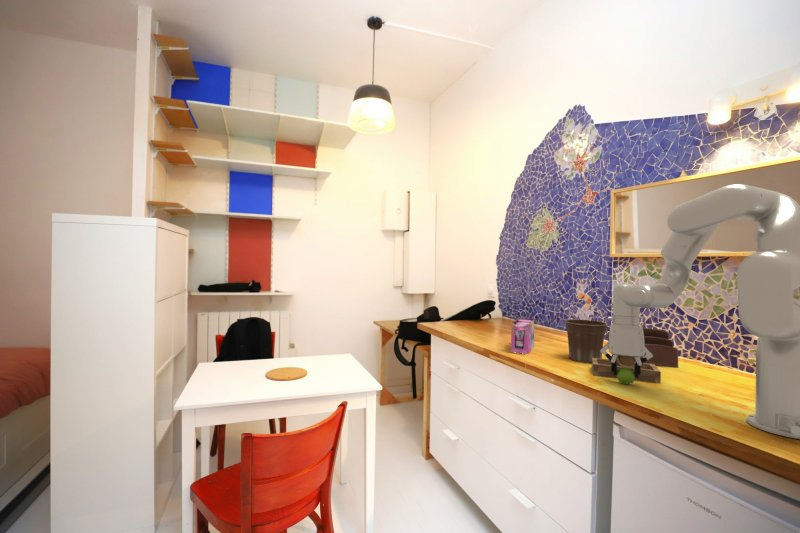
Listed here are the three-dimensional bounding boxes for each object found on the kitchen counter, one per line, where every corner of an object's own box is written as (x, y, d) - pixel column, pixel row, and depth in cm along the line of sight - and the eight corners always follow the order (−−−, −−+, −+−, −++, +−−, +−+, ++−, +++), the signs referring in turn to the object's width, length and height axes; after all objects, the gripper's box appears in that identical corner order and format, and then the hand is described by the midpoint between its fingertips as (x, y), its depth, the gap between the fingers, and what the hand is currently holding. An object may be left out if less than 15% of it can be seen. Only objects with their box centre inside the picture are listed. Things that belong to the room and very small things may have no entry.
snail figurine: (614, 379, 128) (615, 345, 128) (636, 383, 123) (636, 347, 124) (611, 383, 123) (611, 347, 123) (633, 387, 119) (634, 350, 119)
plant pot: (603, 367, 145) (604, 326, 145) (559, 360, 154) (560, 321, 155) (609, 359, 158) (610, 321, 158) (569, 354, 167) (569, 318, 168)
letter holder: (615, 358, 161) (615, 326, 161) (667, 362, 156) (668, 328, 156) (622, 363, 152) (622, 329, 152) (678, 368, 146) (679, 332, 146)
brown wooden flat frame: (660, 383, 124) (660, 371, 124) (593, 375, 133) (593, 364, 133) (653, 374, 135) (653, 363, 135) (591, 367, 143) (592, 357, 143)
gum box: (528, 355, 162) (528, 324, 163) (509, 353, 166) (510, 323, 166) (534, 346, 184) (534, 319, 184) (517, 344, 187) (518, 317, 188)
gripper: (597, 320, 124) (596, 374, 123) (659, 324, 116) (658, 382, 116) (596, 318, 131) (595, 369, 130) (654, 321, 123) (654, 376, 123)
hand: (625, 374), depth 123 cm, fingers closed on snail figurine, 5 cm apart
